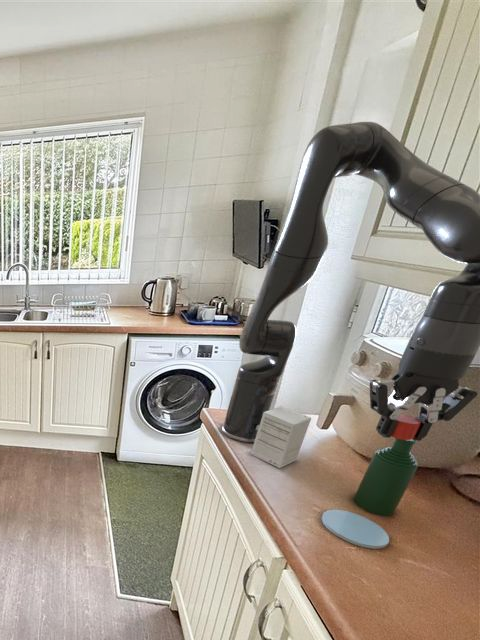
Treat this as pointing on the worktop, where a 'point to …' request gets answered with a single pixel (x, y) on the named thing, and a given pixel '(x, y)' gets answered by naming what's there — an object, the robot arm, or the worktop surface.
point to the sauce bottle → (387, 478)
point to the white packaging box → (280, 436)
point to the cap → (406, 427)
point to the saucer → (355, 529)
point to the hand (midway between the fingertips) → (398, 436)
